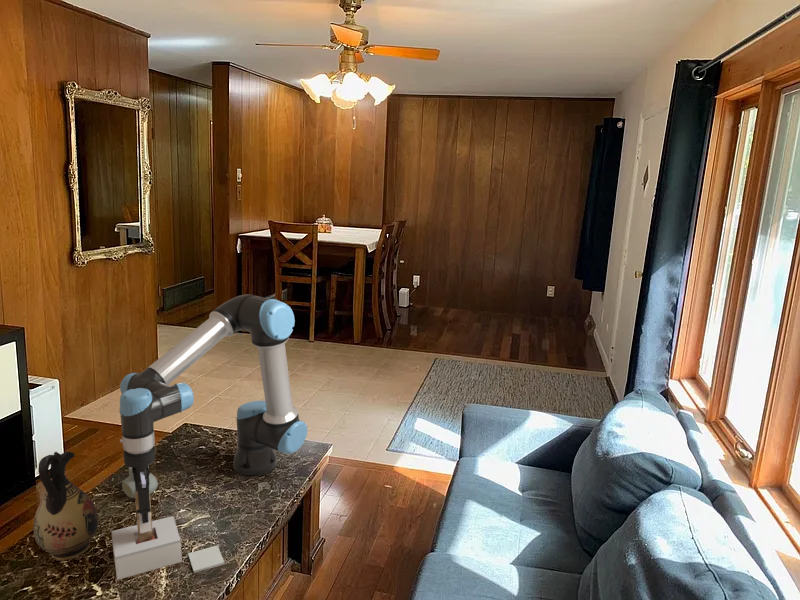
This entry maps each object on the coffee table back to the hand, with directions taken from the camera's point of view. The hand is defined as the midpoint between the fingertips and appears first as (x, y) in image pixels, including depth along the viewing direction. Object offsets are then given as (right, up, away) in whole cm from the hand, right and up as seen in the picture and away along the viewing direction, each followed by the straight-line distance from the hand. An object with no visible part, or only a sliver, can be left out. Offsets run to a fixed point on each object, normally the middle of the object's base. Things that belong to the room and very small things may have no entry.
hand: (144, 526), depth 161 cm
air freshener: (-15, -2, +32) cm, 36 cm away
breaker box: (0, -9, +2) cm, 10 cm away
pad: (+16, -10, +2) cm, 19 cm away
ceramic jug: (-23, -8, +4) cm, 24 cm away
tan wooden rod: (0, -4, +1) cm, 4 cm away
